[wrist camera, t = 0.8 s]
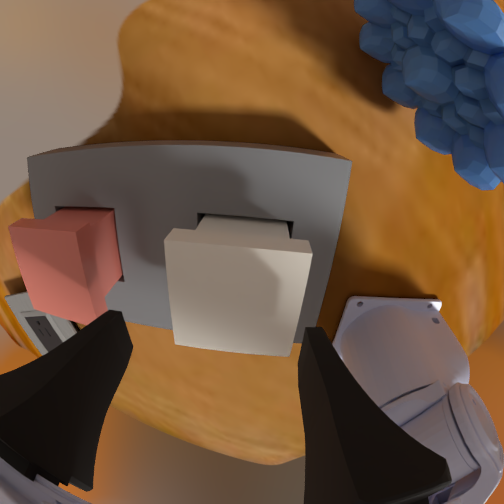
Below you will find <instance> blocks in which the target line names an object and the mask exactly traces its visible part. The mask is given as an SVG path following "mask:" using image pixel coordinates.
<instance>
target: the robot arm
mask: <svg viewBox="0 0 504 504" xmlns="http://www.w3.org/2000/svg"><path fill="white" fill-rule="evenodd" d="M360 301H361V303H360V304H357V303H358V302H360ZM441 305H442V302H441V301H440V300H439V299H410V298H385V297H364V296H352V297H350V298H349V299H348V300H347V303H346V306H345V309H344V312H343V315H342V318H341V321H340V324H339V327H338V329H337V332H336V335H335V338H334V340H333V343H331V342H330V340H329V338H328V336H327V335H326V333H325V331H324V329H323V328H322V327H305V331H304V336H303V341H302V346H301V351H300V356H299V360H298V387H299V394H300V402H301V409H302V417H303V424H304V432H305V450H306V462H305V463H306V464H305V492H304V504H484V503H485V502H486V501H487V499H488V498H489V496H490V495H491V494H492V492H493V491H494V489H495V488H496V487H497V485H498V483H499V481H500V480H501V477H502V473H503V467H504V454H503V449H502V446H501V443H500V441H499V439H498V435H497V432H496V429H495V426H494V423H493V421H492V419H491V417H490V414H489V412H488V410H487V409H486V406H485V405H484V403H483V401H482V400H481V398H480V396H479V395H478V394H477V392H476V391H475V390H474V389H473V388H472V386H470V385H469V384H468V383H469V374H470V372H469V362H468V358H467V355H466V353H465V351H464V350H463V348H462V346H461V345H460V343H459V342H458V340H457V338H456V337H455V335H454V334H453V332H452V331H451V329H450V328H449V326H448V325H447V323H446V322H445V320H444V319H443V317H442V316H441V314H440V313H439V310H440V308H441ZM132 350H133V344H132V342H131V339H130V336H129V333H128V330H127V327H126V324H125V320H124V317H123V314H122V311H116V310H108V311H106V312H105V313H103V314H102V315H101V316H99V317H98V318H96V319H95V320H94V321H92V322H91V323H89V324H88V325H87V326H85V327H84V328H83V329H81V330H80V331H79V332H77V333H76V334H74V335H73V336H72V337H70V338H69V339H67V340H66V341H64V342H63V343H62V344H60V345H59V346H57V347H56V348H54V349H53V350H51V351H50V352H48V353H46V354H45V355H43V356H41V357H39V358H38V359H36V360H34V361H32V362H30V363H28V364H26V365H24V366H21V367H19V368H17V369H15V370H12V371H10V372H7V373H4V374H2V375H0V504H91V503H89V502H87V501H85V500H83V499H81V498H79V497H77V496H75V495H72V494H70V493H69V492H67V491H65V490H63V489H62V488H60V487H58V485H59V482H60V483H62V484H64V485H66V486H68V483H70V484H72V485H74V486H76V487H78V488H80V489H82V490H84V491H90V490H92V489H93V476H94V465H95V458H96V451H97V446H98V442H99V437H100V433H101V429H102V425H103V422H104V418H105V415H106V413H107V410H108V408H109V405H110V403H111V401H112V399H113V396H114V394H115V392H116V390H117V388H118V386H119V384H120V381H121V379H122V377H123V375H124V373H125V370H126V368H127V366H128V363H129V360H130V356H131V353H132Z"/></svg>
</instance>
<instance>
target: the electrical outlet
mask: <svg viewBox="0 0 504 504" xmlns="http://www.w3.org/2000/svg"><path fill="white" fill-rule="evenodd" d="M5 299H6V301H7V303H8V305H9V306H10V308H11V310H12V311H13V313H14V315H15V316H16V318H17V319H18V321H19V323H20V324H21V326H22V327H23V329H24V330H25V332H26V333H27V335H28V336H29V338H30V339H31V340H32V342H33V343H34V345H35V346H36V347H37V349H38V350H39V352H40V353H41V354H42V355H45V354H46V353H48V352H50V351H51V350H53V349H54V348H56V347H57V346H59V345H60V344H62V343H63V342H64V341H66V340H67V339H69V338H70V337H72V336H73V335H74V334H76V333H77V332H78V331H77V329H76V328H75V326H74V325H73V323H72V321H70V320H67V319H64V318H60V317H57V316H54V315H51V314H48V313H45V312H42V311H39V310H36V309H34V308H33V305H32V303H31V300H30V297H29V295H28V292H27V291H26V292H21V293H16V294H12V295H7V296H5Z"/></svg>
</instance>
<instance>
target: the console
mask: <svg viewBox="0 0 504 504" xmlns="http://www.w3.org/2000/svg"><path fill="white" fill-rule="evenodd" d="M27 160H28V172H29V182H30V191H31V198H32V205H33V211H34V217H35V219H45V218H47V217H48V216H50V215H52V214H53V213H55V212H57V211H59V210H60V209H62V208H64V207H66V206H72V207H105V208H114V209H115V219H116V228H117V236H118V244H119V251H120V258H121V264H122V270H123V275H122V276H121V277H120V278H119V280H118V281H117V282H116V283H115V285H114V286H113V287H112V288H111V290H110V291H109V292H108V293H107V295H106V296H105V301H106V305H107V309H108V310H116V311H122V314H123V317H124V320H125V321H127V322H132V323H137V324H142V325H147V326H153V327H158V328H164V329H170V330H173V326H172V318H171V310H170V302H169V293H168V283H167V273H166V261H165V248H164V239H165V238H166V237H167V236H168V234H169V233H170V232H171V231H172V229H173V228H178V229H190V230H196V228H197V226H198V225H199V223H200V222H201V220H202V219H203V217H204V216H205V214H206V213H209V214H222V215H234V216H246V217H257V218H267V219H277V220H287V226H288V231H289V237H290V239H299V240H309V243H310V247H311V250H312V253H313V255H312V260H311V265H310V270H309V275H308V280H307V284H306V289H305V294H304V298H303V303H302V307H301V311H300V316H299V320H298V324H297V328H296V332H295V336H294V340H293V343H302V341H303V336H304V331H305V327H316V324H317V320H318V317H319V313H320V309H321V306H322V302H323V298H324V295H325V291H326V287H327V283H328V279H329V275H330V271H331V267H332V263H333V258H334V254H335V250H336V245H337V241H338V236H339V231H340V227H341V222H342V217H343V212H344V206H345V201H346V195H347V190H348V184H349V178H350V172H351V165H352V161H351V160H349V159H347V158H345V157H343V156H340V155H338V154H336V153H331V152H325V151H318V150H311V149H304V148H296V147H288V146H279V145H269V144H258V143H245V142H229V141H205V140H152V141H129V142H113V143H101V144H91V145H82V146H73V147H66V148H59V149H55V150H51V151H47V152H43V153H40V154H37V155H33V156H30V157H28V158H27Z"/></svg>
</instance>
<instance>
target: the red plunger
mask: <svg viewBox="0 0 504 504" xmlns="http://www.w3.org/2000/svg"><path fill="white" fill-rule="evenodd" d="M8 227H9V231H10V236H11V240H12V244H13V248H14V251H15V255H16V258H17V262H18V265H19V268H20V272H21V275H22V278H23V281H24V284H25V286H26V289H27V292H28V295H29V297H30V300H31V303H32V305H33V308H34V309H36V310H39V311H42V312H45V313H48V314H51V315H54V316H57V317H60V318H64V319H67V320H70V321H74V322H77V323H81V324H85V325H88V324H89V323H91V322H92V321H94V320H95V319H96V318H98V317H99V316H101V315H102V314H103V313H105V312H106V311H108V309H107V305H106V301H105V296H106V295H107V293H108V292H109V291H110V290H111V288H112V287H113V286H114V285H115V283H116V282H117V281H118V280H119V278H120V277H121V276H122V275H123V270H122V264H121V258H120V251H119V244H118V236H117V228H116V219H115V209H114V208H105V207H72V206H66V207H64V208H62V209H60V210H59V211H57V212H55V213H53V214H52V215H50V216H48V217H47V218H45V219H24V218H21V219H20V220H18V221H16V222H15V223H13V224H11V225H10V226H8Z"/></svg>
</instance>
